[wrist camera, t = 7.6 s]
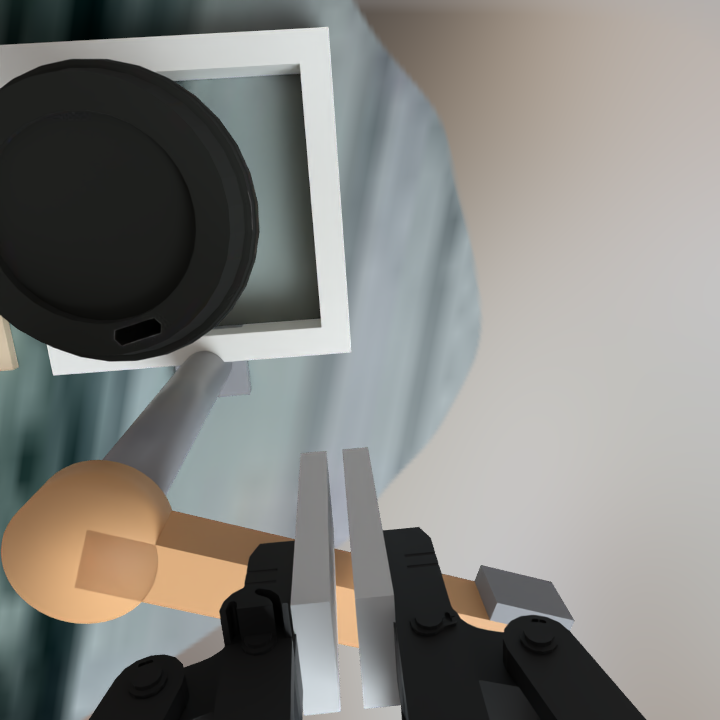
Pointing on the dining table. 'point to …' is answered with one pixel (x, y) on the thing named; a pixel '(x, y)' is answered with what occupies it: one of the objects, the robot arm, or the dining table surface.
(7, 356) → the cork pad
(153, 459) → the white square frame
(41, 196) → the coffee cup
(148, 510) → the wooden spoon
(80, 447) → the dining table surface
